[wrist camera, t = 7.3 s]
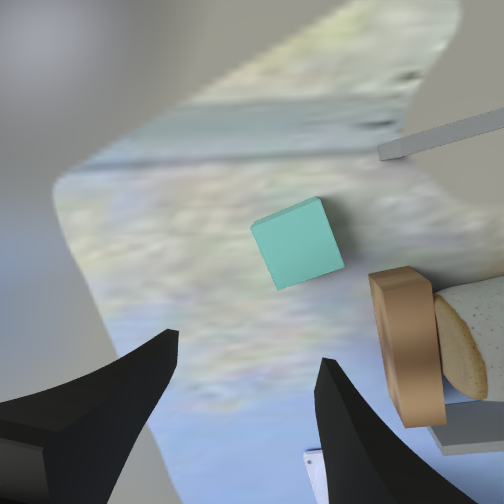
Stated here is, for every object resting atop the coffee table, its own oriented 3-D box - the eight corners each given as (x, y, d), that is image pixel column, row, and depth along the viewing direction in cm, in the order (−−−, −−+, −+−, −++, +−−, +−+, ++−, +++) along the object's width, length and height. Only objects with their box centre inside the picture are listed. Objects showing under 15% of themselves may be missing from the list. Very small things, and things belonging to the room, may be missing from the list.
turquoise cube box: (336, 254, 21) (344, 266, 18) (278, 275, 22) (277, 290, 19) (314, 196, 20) (319, 199, 17) (254, 221, 21) (250, 228, 18)
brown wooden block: (423, 388, 23) (446, 424, 20) (388, 392, 24) (405, 428, 20) (406, 264, 20) (430, 282, 17) (367, 272, 21) (383, 291, 17)
